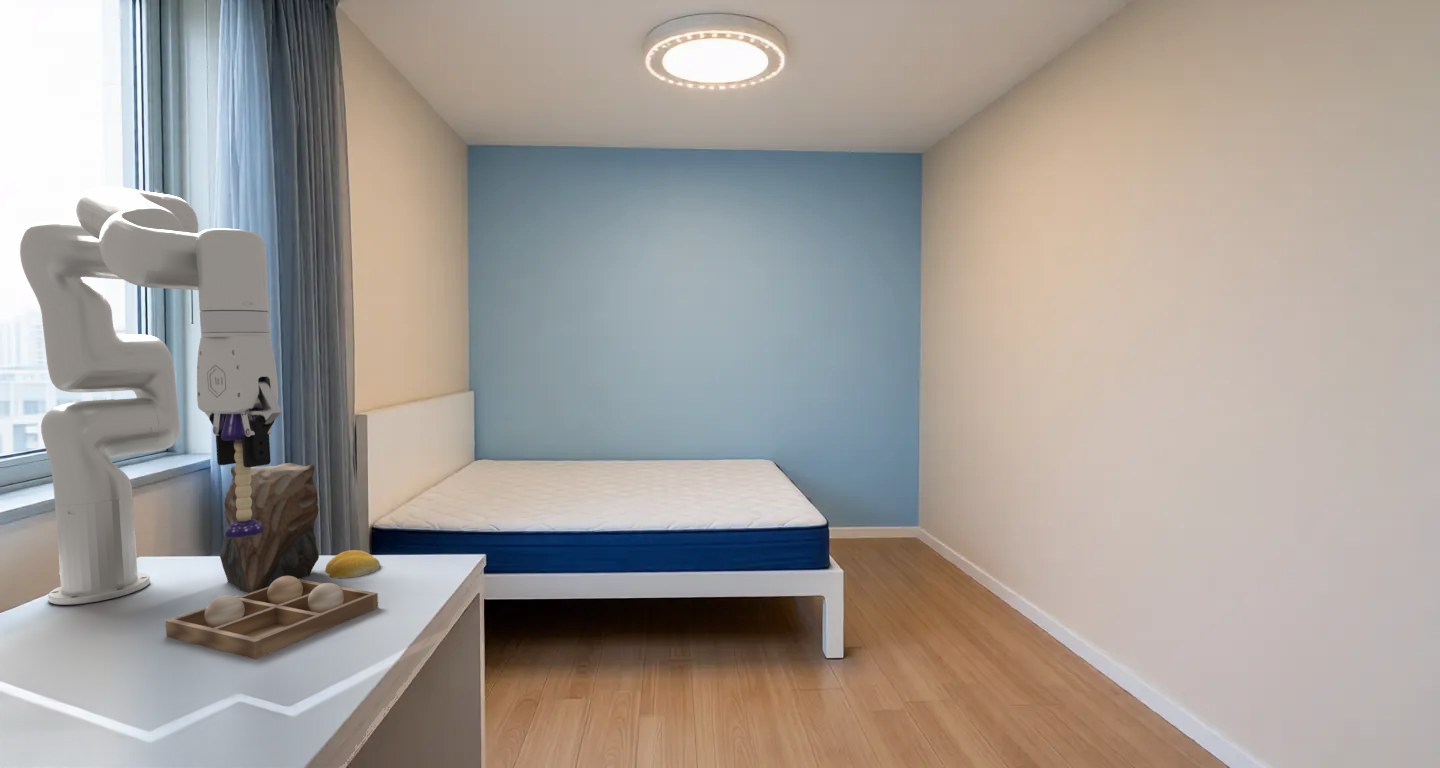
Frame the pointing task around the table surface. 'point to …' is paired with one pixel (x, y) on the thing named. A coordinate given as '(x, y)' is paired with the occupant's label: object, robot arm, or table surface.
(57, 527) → the robot arm
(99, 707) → the table surface
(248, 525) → the toy lamp
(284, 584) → the egg
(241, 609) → the egg
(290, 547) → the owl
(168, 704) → the table surface
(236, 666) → the table surface
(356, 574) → the bread roll
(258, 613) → the organizer
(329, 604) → the egg
